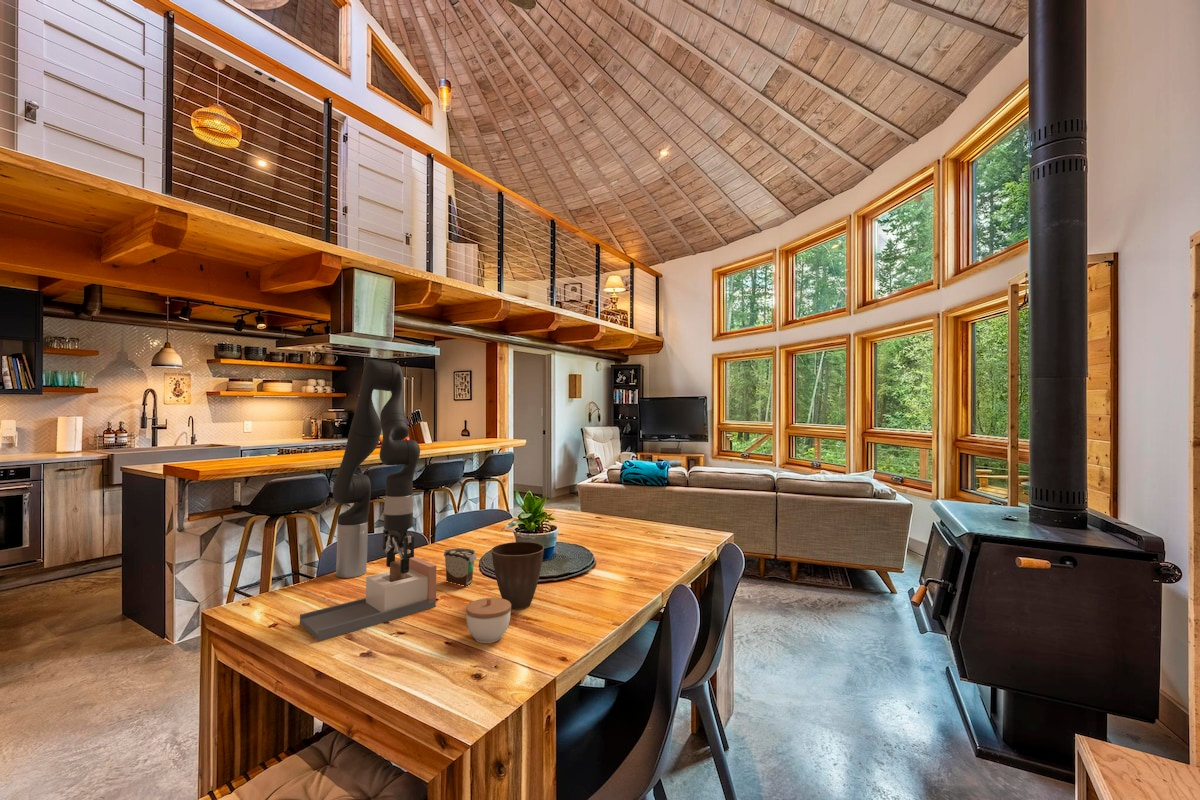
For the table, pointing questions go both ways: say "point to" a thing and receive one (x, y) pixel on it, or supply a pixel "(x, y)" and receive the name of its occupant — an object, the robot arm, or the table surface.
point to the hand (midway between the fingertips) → (397, 569)
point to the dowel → (395, 571)
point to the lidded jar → (488, 619)
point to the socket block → (395, 590)
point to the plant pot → (517, 571)
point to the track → (366, 610)
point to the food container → (459, 565)
